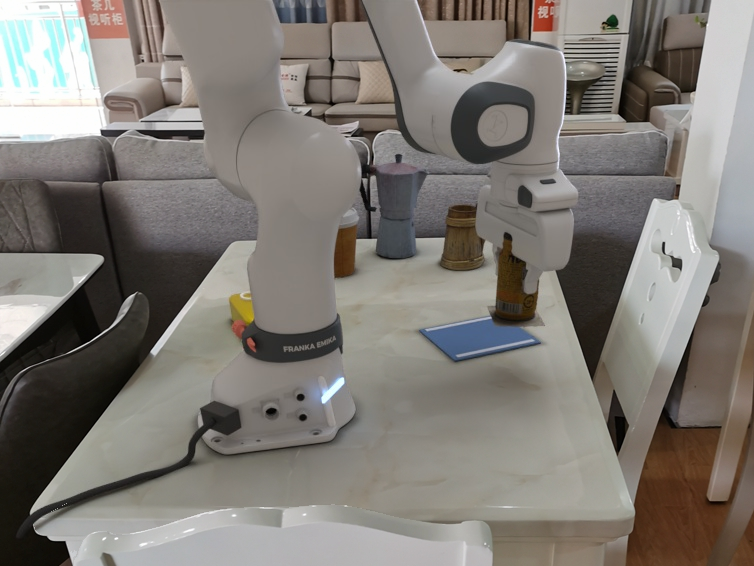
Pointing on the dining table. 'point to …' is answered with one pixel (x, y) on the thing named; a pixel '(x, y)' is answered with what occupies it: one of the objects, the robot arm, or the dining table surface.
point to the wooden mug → (462, 239)
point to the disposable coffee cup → (346, 244)
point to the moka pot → (395, 205)
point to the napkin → (477, 338)
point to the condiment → (513, 292)
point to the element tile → (241, 307)
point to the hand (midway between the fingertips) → (515, 284)
